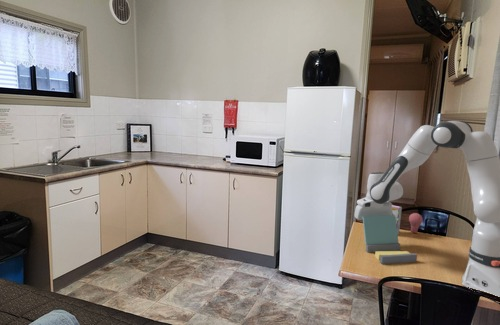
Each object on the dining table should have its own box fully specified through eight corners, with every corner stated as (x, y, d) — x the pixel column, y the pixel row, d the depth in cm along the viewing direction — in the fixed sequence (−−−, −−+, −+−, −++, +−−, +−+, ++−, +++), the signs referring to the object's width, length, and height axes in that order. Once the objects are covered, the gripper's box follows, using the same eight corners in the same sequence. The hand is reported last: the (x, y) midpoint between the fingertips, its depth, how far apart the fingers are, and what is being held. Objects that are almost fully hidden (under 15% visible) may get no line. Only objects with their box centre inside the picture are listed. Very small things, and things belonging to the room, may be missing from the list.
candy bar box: (376, 231, 191) (379, 204, 188) (380, 228, 195) (382, 202, 192) (396, 236, 184) (399, 208, 181) (399, 233, 187) (402, 206, 185)
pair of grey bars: (416, 261, 153) (417, 254, 152) (381, 264, 149) (382, 257, 149) (397, 249, 166) (398, 242, 166) (365, 251, 163) (366, 244, 162)
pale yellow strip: (411, 260, 154) (411, 254, 154) (378, 260, 153) (379, 255, 153) (406, 256, 158) (407, 251, 158) (375, 257, 157) (375, 251, 157)
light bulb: (422, 233, 189) (424, 213, 187) (418, 236, 184) (420, 216, 182) (410, 229, 194) (412, 210, 192) (405, 232, 189) (407, 213, 187)
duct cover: (395, 215, 168) (393, 215, 169) (363, 216, 165) (362, 216, 166) (398, 242, 166) (397, 242, 167) (366, 244, 162) (365, 244, 163)
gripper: (388, 199, 176) (386, 223, 178) (354, 200, 172) (352, 225, 174) (395, 203, 169) (393, 227, 172) (360, 204, 166) (358, 229, 168)
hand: (372, 226), depth 173 cm, fingers closed
